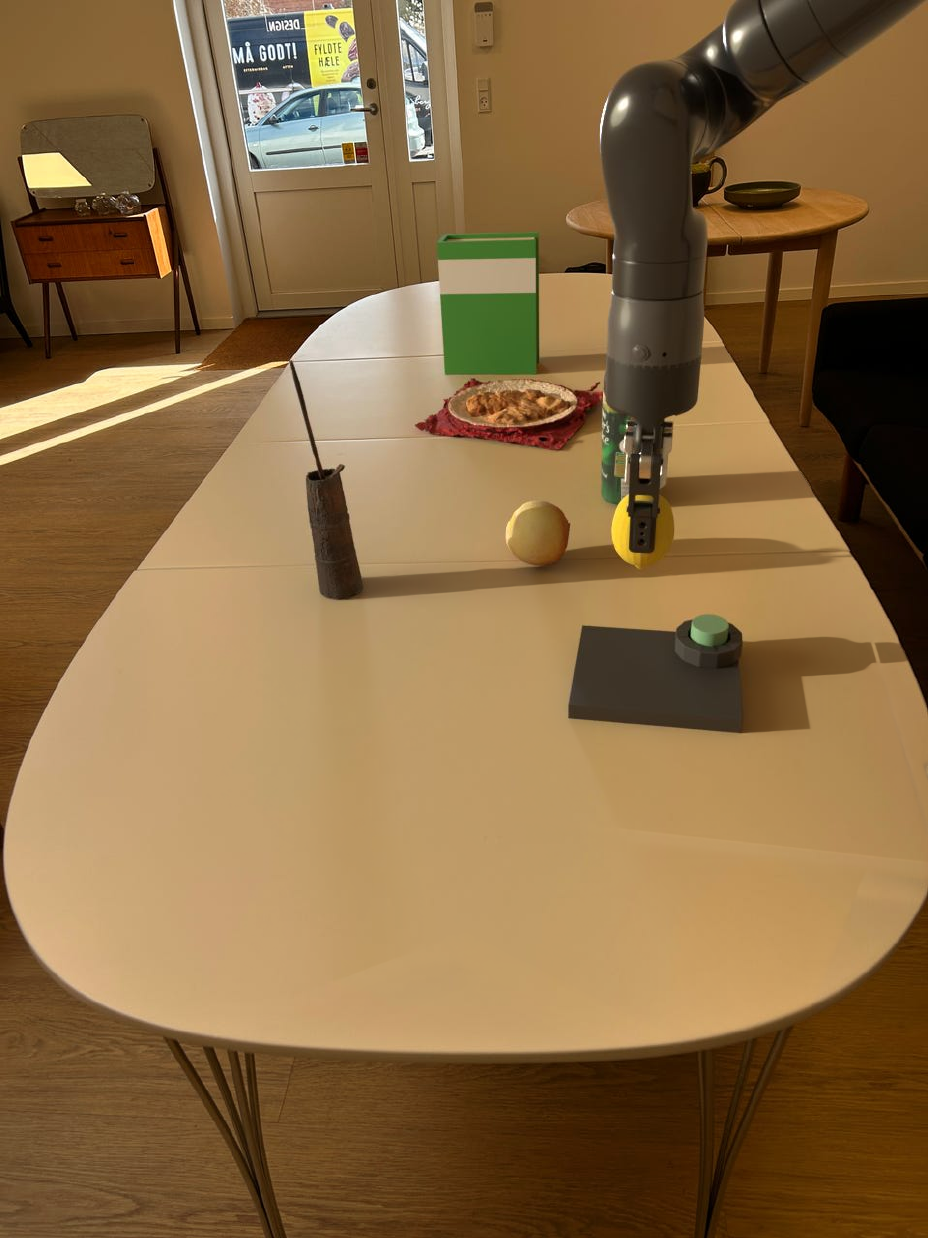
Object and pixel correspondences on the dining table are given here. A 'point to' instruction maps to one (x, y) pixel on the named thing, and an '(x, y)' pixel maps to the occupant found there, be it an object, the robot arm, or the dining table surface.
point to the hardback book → (489, 302)
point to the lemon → (661, 537)
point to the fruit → (538, 533)
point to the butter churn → (329, 523)
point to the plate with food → (513, 412)
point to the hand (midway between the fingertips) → (643, 534)
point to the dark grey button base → (657, 679)
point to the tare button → (709, 630)
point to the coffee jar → (613, 453)
